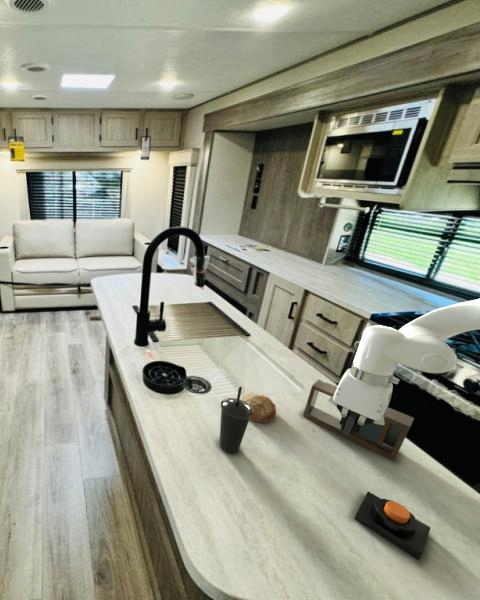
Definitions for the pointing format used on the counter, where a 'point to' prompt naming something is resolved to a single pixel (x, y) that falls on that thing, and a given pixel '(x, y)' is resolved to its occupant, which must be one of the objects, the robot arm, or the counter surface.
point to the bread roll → (260, 407)
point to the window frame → (387, 449)
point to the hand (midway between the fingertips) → (348, 429)
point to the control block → (393, 526)
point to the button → (396, 512)
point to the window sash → (367, 429)
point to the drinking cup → (233, 422)
